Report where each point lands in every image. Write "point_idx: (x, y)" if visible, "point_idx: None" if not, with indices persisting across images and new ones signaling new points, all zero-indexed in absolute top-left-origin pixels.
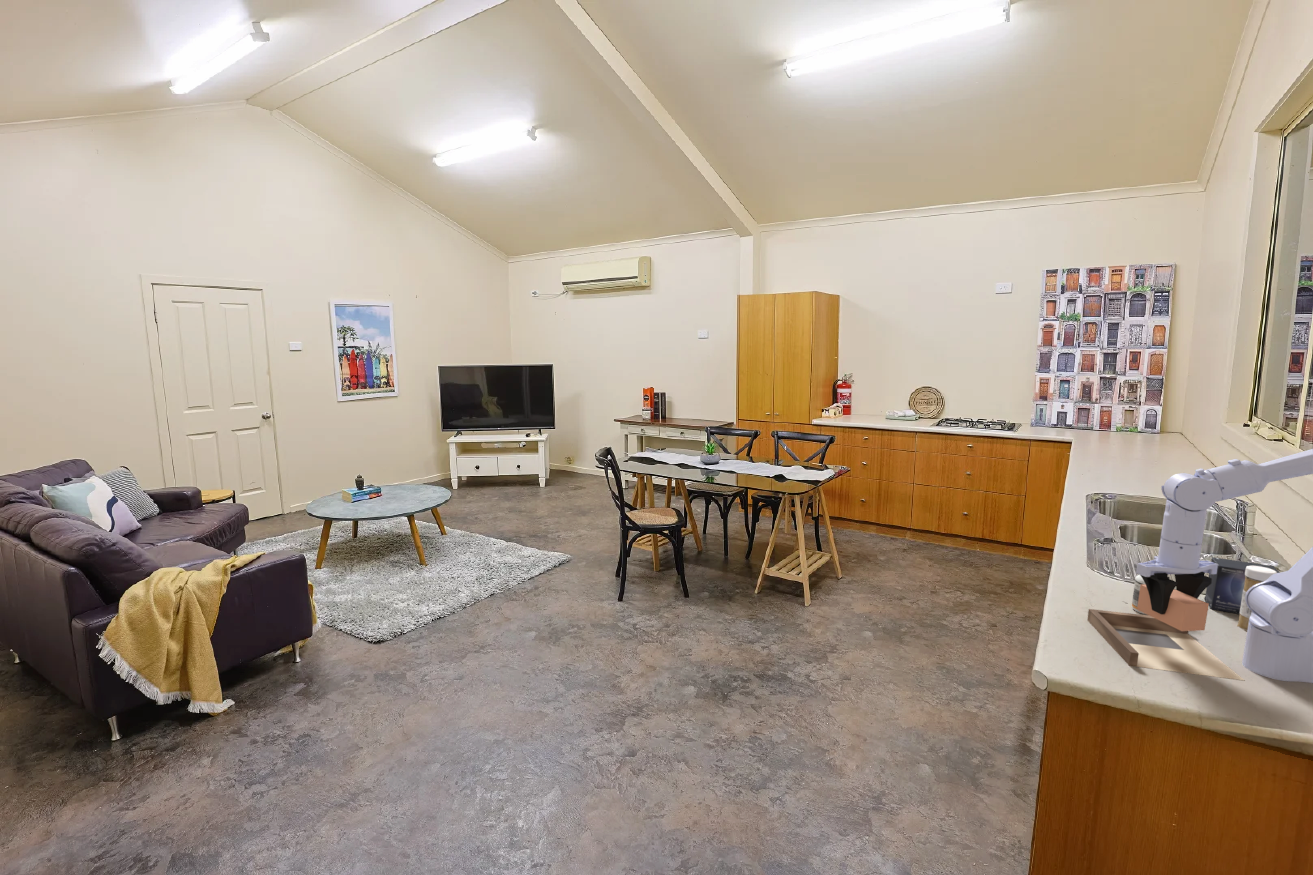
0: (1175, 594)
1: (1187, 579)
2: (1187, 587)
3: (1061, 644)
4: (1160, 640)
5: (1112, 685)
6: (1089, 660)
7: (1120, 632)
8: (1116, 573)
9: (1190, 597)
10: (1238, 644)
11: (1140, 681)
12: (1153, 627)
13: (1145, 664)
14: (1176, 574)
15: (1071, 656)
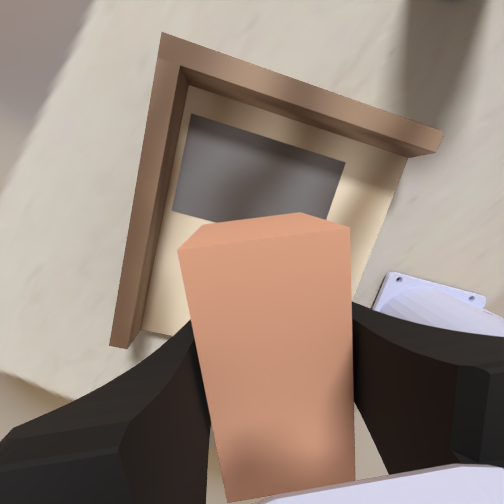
0: (284, 391)
1: (425, 464)
2: (383, 410)
3: (32, 200)
4: (299, 199)
5: (60, 373)
6: (66, 280)
7: (222, 152)
8: None
9: (332, 422)
10: (494, 188)
11: (129, 357)
12: (335, 131)
13: (166, 320)
14: (434, 385)
15: (30, 263)
